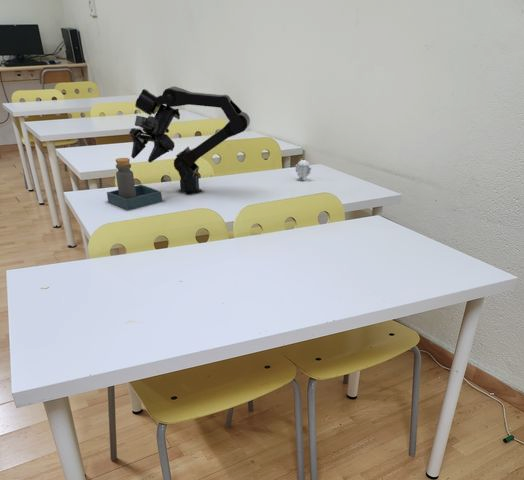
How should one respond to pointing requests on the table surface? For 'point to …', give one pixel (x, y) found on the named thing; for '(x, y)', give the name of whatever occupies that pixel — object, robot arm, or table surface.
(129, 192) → the bottle
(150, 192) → the basin
